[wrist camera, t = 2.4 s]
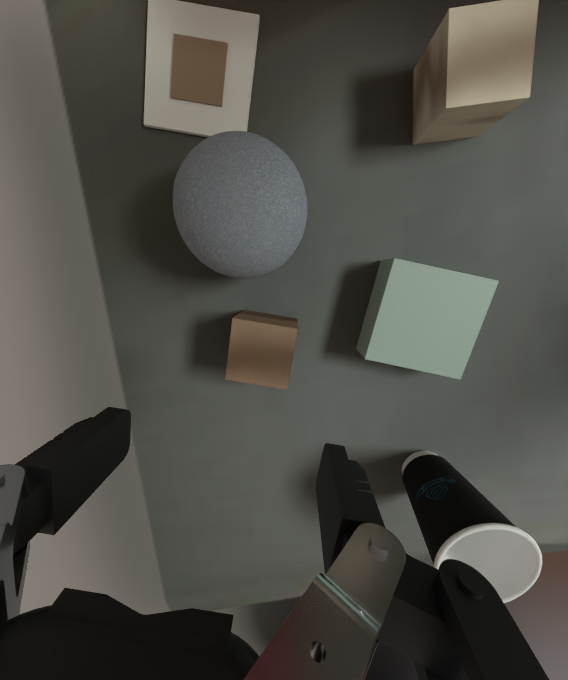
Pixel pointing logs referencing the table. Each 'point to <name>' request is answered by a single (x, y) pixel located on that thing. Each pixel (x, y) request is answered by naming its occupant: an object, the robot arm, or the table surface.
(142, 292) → the table surface
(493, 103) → the birch block
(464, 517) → the dixie cup
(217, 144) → the decorative stone
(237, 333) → the walnut block
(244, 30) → the card
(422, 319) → the sage green base block
